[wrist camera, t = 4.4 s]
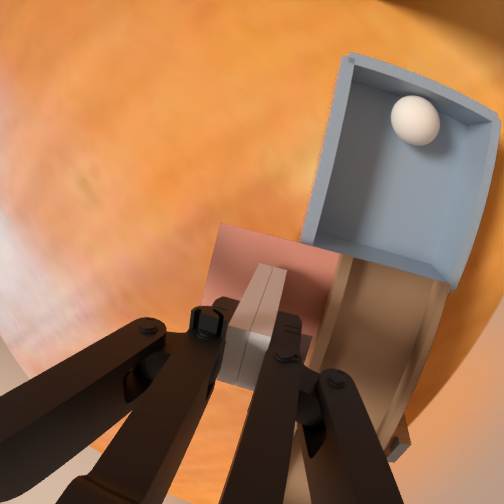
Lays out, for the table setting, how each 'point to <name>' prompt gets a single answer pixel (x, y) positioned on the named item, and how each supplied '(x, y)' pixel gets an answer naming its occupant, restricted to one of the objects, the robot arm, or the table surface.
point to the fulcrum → (401, 434)
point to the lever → (340, 321)
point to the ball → (415, 120)
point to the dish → (400, 174)
